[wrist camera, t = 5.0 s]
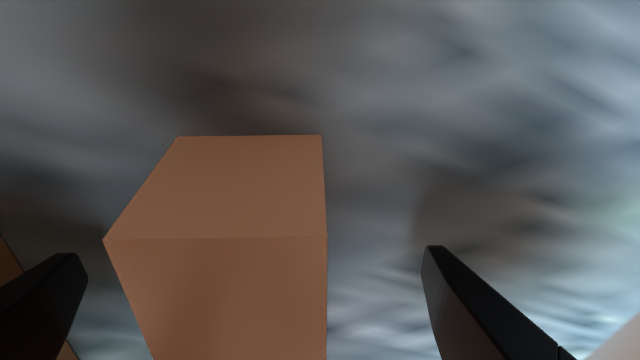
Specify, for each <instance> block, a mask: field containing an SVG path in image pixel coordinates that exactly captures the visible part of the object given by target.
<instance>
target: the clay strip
mask: <svg viewBox="0 0 640 360" xmlns="http://www.w3.org/2000/svg"><path fill="white" fill-rule="evenodd" d="M102 241H103V243H104V246H105V248H106V250H107V253H108V255H109V257H110V260H111V262H112V264H113V267H114V269H115V271H116V274H117V276H118V278H119V281H120V283H121V285H122V287H123V290H124V292H125V294H126V297H127V299H128V301H129V304H130V306H131V308H132V311H133V313H134V315H135V318H136V320H137V322H138V325H139V327H140V329H141V332H142V334H143V336H144V339H145V341H146V343H147V346H148V348H149V350H150V352H151V355H152V357H153V359H154V360H326V331H327V220H326V203H325V186H324V169H323V152H322V135H251V136H177V138H176V139H175V140H174V142H173V143H172V144H171V146H170V147H169V149H168V150H167V151H166V153H165V154H164V155H163V157H162V158H161V160H160V161H159V162H158V164H157V165H156V166H155V168H154V169H153V171H152V172H151V173H150V175H149V176H148V178H147V179H146V180H145V182H144V183H143V184H142V186H141V187H140V189H139V190H138V191H137V193H136V194H135V195H134V197H133V198H132V200H131V201H130V202H129V204H128V205H127V206H126V208H125V209H124V211H123V212H122V213H121V215H120V216H119V217H118V219H117V220H116V222H115V223H114V224H113V226H112V227H111V228H110V230H109V231H108V233H107V234H106V235H105V237H104V238H103V240H102Z"/></svg>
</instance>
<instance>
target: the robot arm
mask: <svg viewBox="0 0 640 360" xmlns="http://www.w3.org/2000/svg"><path fill="white" fill-rule="evenodd" d="M421 277H422V282H423V287H424V292H425V297H426V301H427V306H428V311H429V316H430V321H431V325H432V330H433V333H434V337H435V340H436V343H437V346H438V349H439V352H440V355H441V358H442V360H577V359H576V358H575V357H573V356H572V355H571V354H570V353H569V352H567V351H566V350H565V349H564V348H563V347H562V346H558V343H557V342H556V341H554V340H553V339H552V338H551V337H550V336H548V335H547V334H546V333H545V332H544V331H543V330H541V329H540V328H539V327H538V326H537V325H536V324H534V323H533V322H532V321H531V320H530V319H529V318H527V317H526V316H525V315H524V314H523V313H521V312H520V311H519V310H518V309H517V308H516V307H514V306H513V305H512V304H511V303H510V302H509V301H507V300H506V299H505V298H504V297H503V296H501V295H500V294H499V293H498V292H497V291H496V290H494V289H493V288H492V287H491V286H490V285H489V284H487V283H486V282H485V281H484V280H483V279H482V278H480V277H479V276H478V275H477V274H476V273H474V272H473V271H472V270H471V269H470V268H469V267H467V266H466V265H465V264H464V263H463V262H462V261H460V260H459V259H458V258H457V257H456V256H454V255H453V254H452V253H451V252H450V251H449V250H447V249H446V248H445V247H444V246H441V245H429V246H427V247H426V248H425V251H424V256H423V261H422V266H421ZM87 283H88V274H87V272H86V270H85V268H84V266H83V264H82V262H81V260H80V258H79V256H78V255H77V254H76V253H73V252H63V253H57V254H54V255H53V256H51V257H49V258H48V259H46V260H44V261H43V262H41V263H39V264H38V265H36V266H34V267H33V268H31V269H29V270H28V271H26V272H24V273H23V274H21V275H19V276H18V277H16V278H14V279H13V280H11V281H9V282H7V283H6V284H4V285H2V286H1V287H0V360H56V359H57V357H58V355H59V353H60V351H61V349H62V347H63V345H64V342H65V340H66V338H67V336H68V333H69V331H70V328H71V326H72V323H73V320H74V318H75V315H76V313H77V310H78V307H79V305H80V302H81V299H82V297H83V294H84V292H85V289H86V286H87Z"/></svg>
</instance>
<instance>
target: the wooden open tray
mask: <svg viewBox="0 0 640 360" xmlns="http://www.w3.org/2000/svg"><path fill="white" fill-rule="evenodd" d="M23 273H24V272H23V271H22V269H21V267H20V266H19V264H18V263H17V261H16V259H15V258H14V256H13V255H12V253H11V251H10V250H9V248H8V247H7V245H6V243H5V242H4V240H3V239H2V237H1V235H0V287H1V286H2V285H4V284H6V283H7V282H9V281H11V280H13V279H14V278H16V277H18V276H19V275H21V274H23ZM56 360H78V359H77V357H76V355H75V354H74V352H73V351H72V349H71V347H70V346H69V344H68V343H67V341H66V340H65V342H64V345H63V347H62V349H61V351H60V353H59V355H58V357H57V359H56Z"/></svg>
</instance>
